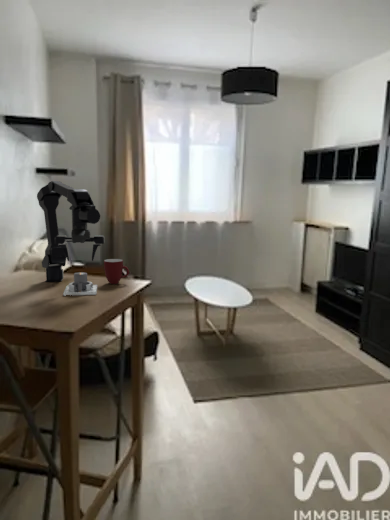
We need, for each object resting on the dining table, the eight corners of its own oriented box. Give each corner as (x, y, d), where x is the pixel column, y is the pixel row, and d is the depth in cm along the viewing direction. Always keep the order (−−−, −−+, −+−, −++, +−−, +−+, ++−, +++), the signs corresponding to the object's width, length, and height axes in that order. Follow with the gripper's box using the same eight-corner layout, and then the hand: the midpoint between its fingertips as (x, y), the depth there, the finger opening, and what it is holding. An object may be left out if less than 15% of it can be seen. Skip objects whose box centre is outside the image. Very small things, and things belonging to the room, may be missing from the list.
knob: (75, 287, 161) (74, 272, 160) (87, 286, 162) (87, 271, 161) (73, 291, 155) (72, 275, 154) (86, 290, 156) (86, 275, 155)
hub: (63, 295, 152) (63, 287, 152) (67, 288, 164) (66, 280, 163) (96, 294, 155) (95, 286, 154) (97, 287, 166) (97, 279, 166)
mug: (128, 280, 180) (128, 258, 178) (129, 284, 172) (129, 261, 170) (104, 281, 177) (103, 259, 176) (104, 285, 170) (103, 262, 168)
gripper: (51, 223, 148) (53, 265, 151) (103, 223, 152) (103, 264, 155) (55, 221, 159) (57, 259, 162) (104, 221, 163) (104, 259, 165)
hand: (80, 260), depth 161 cm, fingers open, 9 cm apart
